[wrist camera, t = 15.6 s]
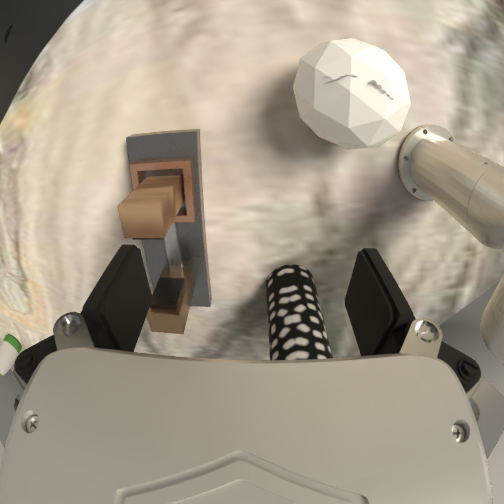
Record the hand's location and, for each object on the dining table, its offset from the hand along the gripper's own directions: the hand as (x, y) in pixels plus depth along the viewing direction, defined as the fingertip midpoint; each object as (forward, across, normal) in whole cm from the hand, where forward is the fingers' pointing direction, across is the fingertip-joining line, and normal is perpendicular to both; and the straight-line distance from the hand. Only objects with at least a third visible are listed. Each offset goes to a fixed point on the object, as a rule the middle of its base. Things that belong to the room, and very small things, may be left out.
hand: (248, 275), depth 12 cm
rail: (+28, +12, +13) cm, 33 cm away
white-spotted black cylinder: (+28, -7, +24) cm, 38 cm away
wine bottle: (+28, +84, +57) cm, 105 cm away
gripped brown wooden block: (+26, +12, +6) cm, 29 cm away
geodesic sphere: (+28, -11, -8) cm, 32 cm away
